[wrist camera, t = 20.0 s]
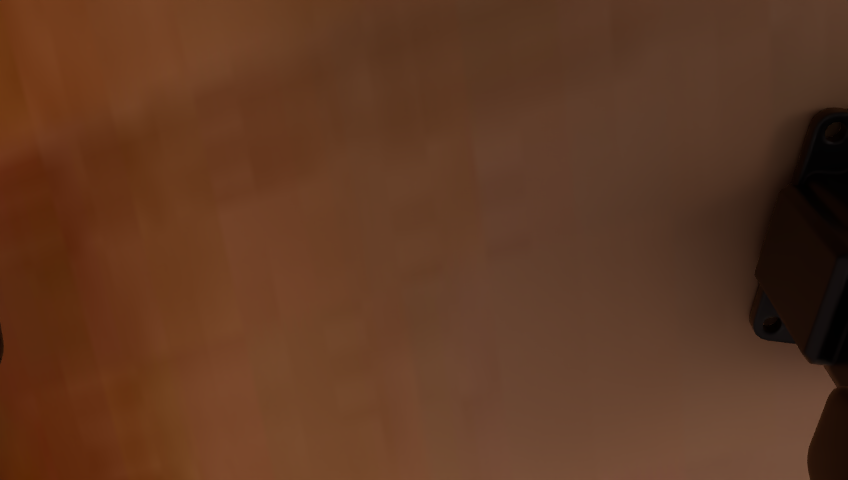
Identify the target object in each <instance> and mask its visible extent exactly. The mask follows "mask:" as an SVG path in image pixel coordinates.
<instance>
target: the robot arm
mask: <svg viewBox="0 0 848 480" xmlns="http://www.w3.org/2000/svg"><path fill="white" fill-rule="evenodd" d="M835 122H840V123H841V128H840V130H839V132H838V133H837V134H836V135H834V136H832V137H825V130H826V129H827V127H828V126H829V125H831V124H832V123H835ZM755 277H756V278H757V280H758V282H759V283H760V284H759V288H758V291H757V294H756V297H755V300H754V304H753V307H752V310H751V313H750V320H749V321H750V324H751V326H752V328H753V330H754V332H755V334H756V335H757V336H758V337H760V338H761V339H764V340H768V341H776V342H784V343H793V344H796V345H797V346H798V348H799V350H800V351H801V353H802V354H803V355H804V357H805V358H806V360H807V361H808V362H809V363H811V364H817V365H823V366H824V367H825V369H826V370H827V372H828V374H829V375H830V377H831V378H832V380H833V382H834V383H835V385H836V386H837V388H836V389H834V390H833V391H832V392H831V394H830V395H829V397H828V399H827V401H826V404H825V407H824V409H823V412H822V415H821V417H820V420H819V422H818V425H817V428H816V430H815V433H814V435H813V438H812V441H811V443H810V446H809V450H808V459H807V463H808V472H809V476H810V480H848V109H843V108H827V109H825V110H823V111H820V112H819V113H818V114H817V115H816V116H815V117H813V119H812V121H811V123H810V125H809V128H808V131H807V134H806V137H805V141H804V144H803V147H802V150H801V153H800V157H799V160H798V163H797V166H796V169H795V173H794V176H793V179H792V182H791V184H788V185H787V186H786V187H785V188H783V189H782V190H781V191H780V192H779V194H778V197H777V201H776V204H775V207H774V210H773V214H772V217H771V220H770V223H769V227H768V230H767V233H766V236H765V240H764V243H763V246H762V249H761V253H760V256H759V259H758V262H757V266H756V269H755ZM770 317H777V318H778V319H777V320H776V322H775V323H773V324H771V325H763V323H764V321H765V320H766V319H768V318H770ZM3 348H4V345H3V337H2V331H1V324H0V363H1V360H2V356H3Z"/></svg>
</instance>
